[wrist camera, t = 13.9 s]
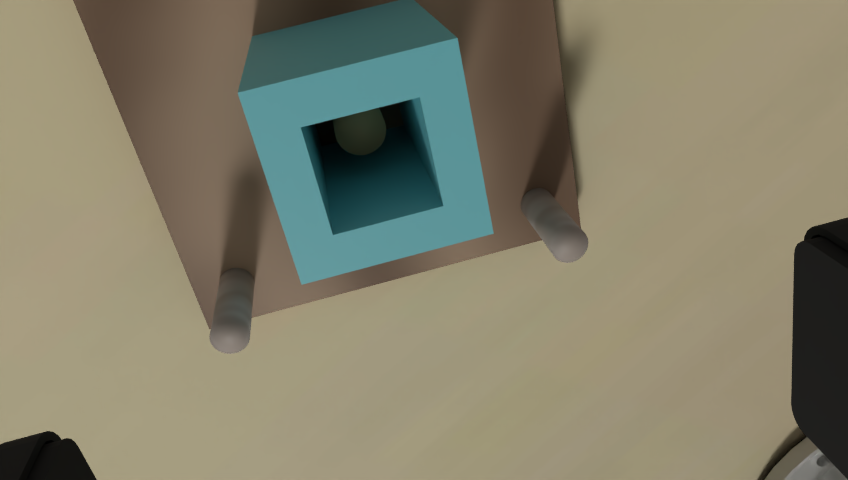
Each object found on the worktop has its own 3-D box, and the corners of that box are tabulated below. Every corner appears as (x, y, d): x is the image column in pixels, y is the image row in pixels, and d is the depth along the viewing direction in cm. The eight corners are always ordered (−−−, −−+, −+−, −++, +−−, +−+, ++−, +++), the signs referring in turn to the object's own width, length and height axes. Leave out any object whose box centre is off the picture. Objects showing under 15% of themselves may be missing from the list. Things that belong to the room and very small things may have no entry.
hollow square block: (410, -3, 23) (457, 37, 16) (442, 147, 25) (493, 233, 19) (252, 36, 22) (237, 92, 16) (298, 184, 24) (301, 284, 18)
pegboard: (518, -200, 22) (577, -223, 17) (571, 218, 28) (625, 280, 23) (47, -90, 21) (-19, -85, 16) (212, 314, 27) (196, 397, 23)
